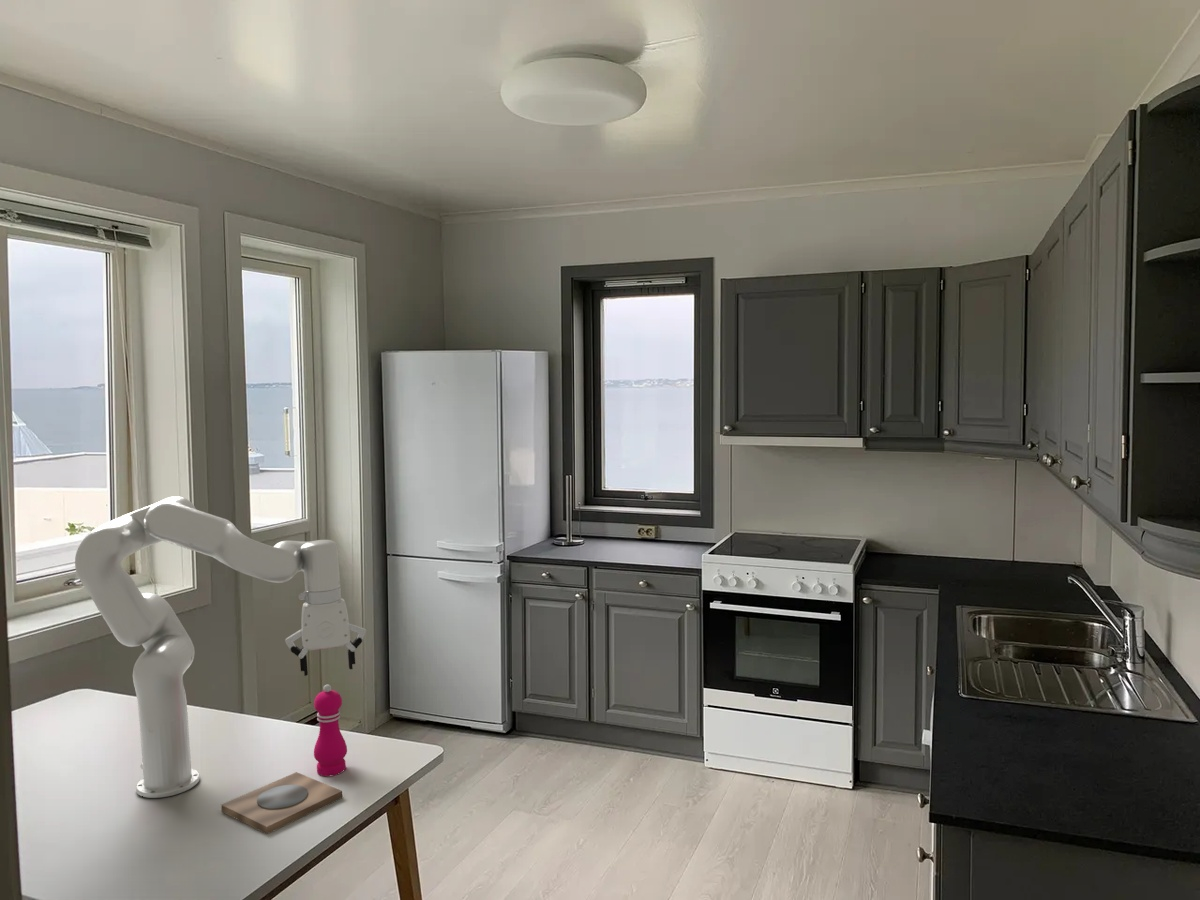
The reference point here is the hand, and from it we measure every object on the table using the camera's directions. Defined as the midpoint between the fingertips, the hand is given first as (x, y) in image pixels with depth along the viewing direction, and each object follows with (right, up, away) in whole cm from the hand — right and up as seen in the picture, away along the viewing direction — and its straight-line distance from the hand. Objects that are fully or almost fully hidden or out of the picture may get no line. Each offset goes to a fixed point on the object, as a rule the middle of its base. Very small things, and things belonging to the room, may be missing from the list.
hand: (328, 670), depth 202 cm
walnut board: (-5, -25, -14) cm, 29 cm away
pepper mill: (0, -23, +2) cm, 23 cm away
